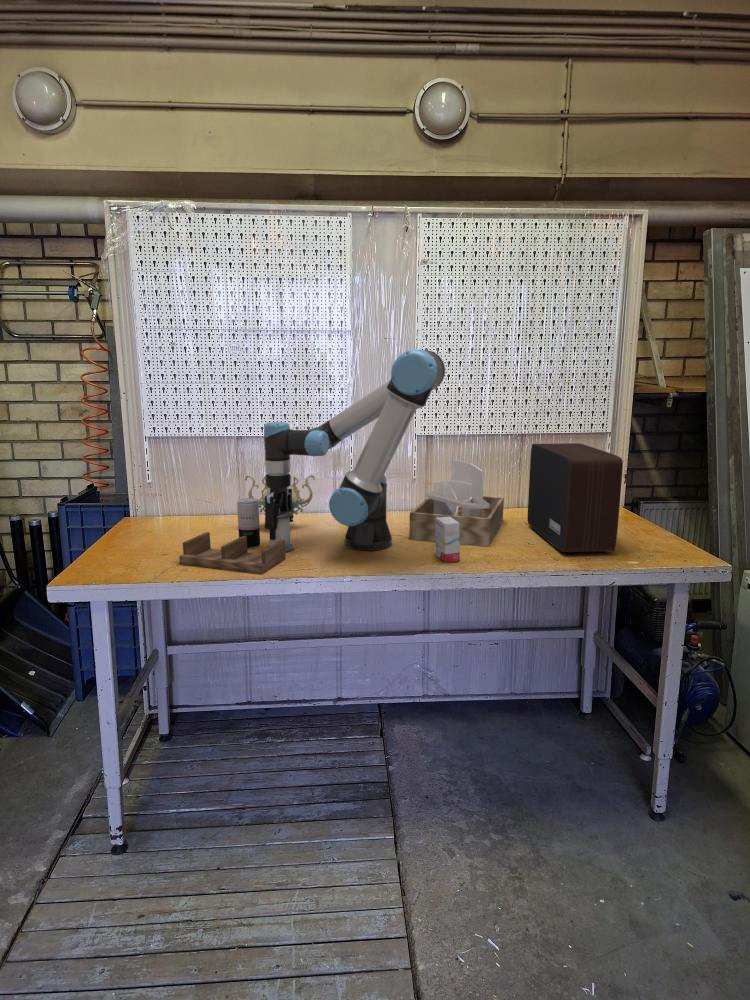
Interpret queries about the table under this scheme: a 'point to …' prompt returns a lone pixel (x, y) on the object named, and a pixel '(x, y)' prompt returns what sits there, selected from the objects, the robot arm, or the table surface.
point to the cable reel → (284, 529)
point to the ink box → (447, 539)
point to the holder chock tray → (469, 527)
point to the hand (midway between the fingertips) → (280, 545)
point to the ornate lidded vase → (295, 495)
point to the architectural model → (460, 492)
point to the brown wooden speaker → (575, 496)
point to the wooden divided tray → (231, 555)
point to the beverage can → (249, 521)
